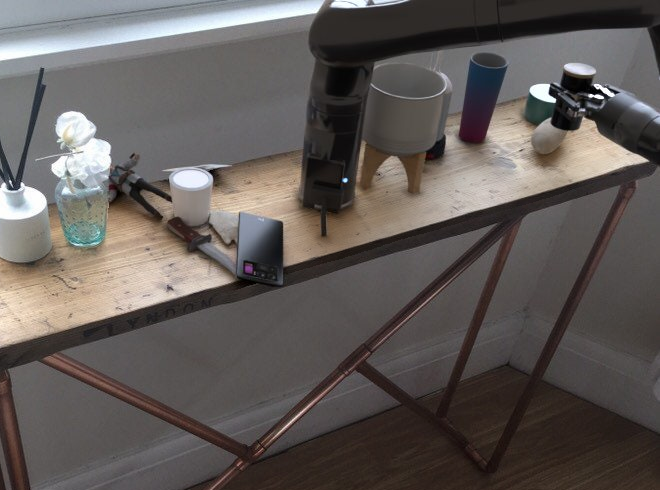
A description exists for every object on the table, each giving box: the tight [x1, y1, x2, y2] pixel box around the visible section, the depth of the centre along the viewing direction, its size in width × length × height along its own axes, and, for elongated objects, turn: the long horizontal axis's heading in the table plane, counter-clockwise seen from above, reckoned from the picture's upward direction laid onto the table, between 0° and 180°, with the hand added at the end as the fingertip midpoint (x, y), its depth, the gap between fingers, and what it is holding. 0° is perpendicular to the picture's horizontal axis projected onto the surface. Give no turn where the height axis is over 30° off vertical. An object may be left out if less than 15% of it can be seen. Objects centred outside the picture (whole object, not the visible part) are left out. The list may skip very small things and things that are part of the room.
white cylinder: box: [168, 167, 214, 227], centre depth 140 cm, size 7×7×7 cm
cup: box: [458, 51, 510, 144], centre depth 163 cm, size 7×7×15 cm
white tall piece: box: [425, 50, 453, 162], centre depth 154 cm, size 8×8×25 cm
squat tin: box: [522, 83, 556, 126], centre depth 174 cm, size 8×8×5 cm
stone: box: [530, 118, 569, 155], centre depth 165 cm, size 6×6×12 cm
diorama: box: [161, 163, 233, 172], centre depth 151 cm, size 8×12×2 cm
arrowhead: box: [208, 209, 239, 245], centre depth 140 cm, size 7×2×10 cm
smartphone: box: [235, 211, 284, 288], centre depth 135 cm, size 7×15×1 cm, turn 2°
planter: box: [359, 62, 447, 196], centre depth 149 cm, size 13×13×18 cm
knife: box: [166, 216, 236, 276], centre depth 135 cm, size 17×1×5 cm
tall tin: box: [550, 62, 597, 132], centre depth 153 cm, size 5×5×10 cm
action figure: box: [107, 152, 172, 221], centre depth 142 cm, size 9×7×15 cm
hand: (563, 85), depth 154 cm, fingers closed on tall tin, 5 cm apart
